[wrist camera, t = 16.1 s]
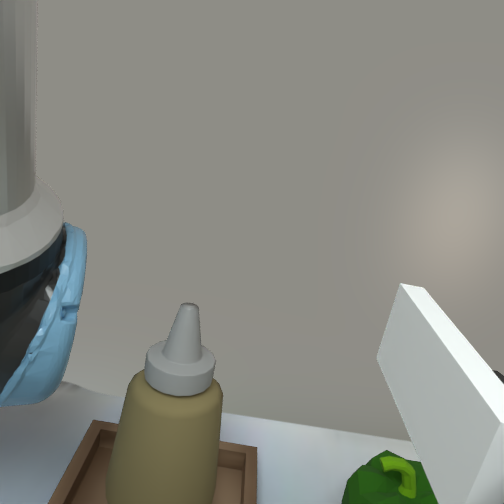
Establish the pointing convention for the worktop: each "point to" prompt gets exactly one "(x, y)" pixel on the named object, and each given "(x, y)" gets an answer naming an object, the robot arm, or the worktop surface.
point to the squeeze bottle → (169, 423)
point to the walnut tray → (98, 457)
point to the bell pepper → (389, 482)
